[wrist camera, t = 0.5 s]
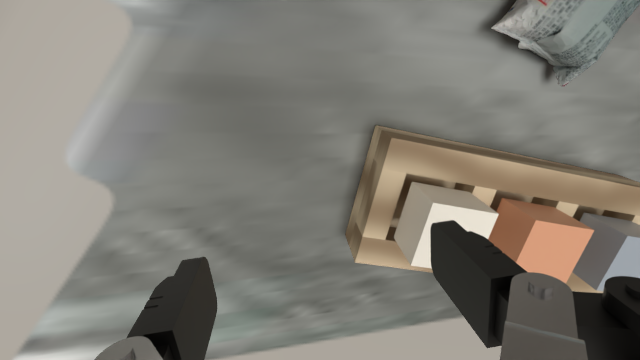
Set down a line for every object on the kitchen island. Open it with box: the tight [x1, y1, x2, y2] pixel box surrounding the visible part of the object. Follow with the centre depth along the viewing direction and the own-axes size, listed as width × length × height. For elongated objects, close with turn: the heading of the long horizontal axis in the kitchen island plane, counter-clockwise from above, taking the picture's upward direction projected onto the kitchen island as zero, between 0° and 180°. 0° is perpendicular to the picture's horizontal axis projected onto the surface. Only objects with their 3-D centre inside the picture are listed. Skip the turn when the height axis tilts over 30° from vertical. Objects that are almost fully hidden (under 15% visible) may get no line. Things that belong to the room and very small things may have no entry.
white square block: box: [394, 182, 499, 268], centre depth 26 cm, size 5×5×4 cm
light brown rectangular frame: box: [345, 125, 640, 293], centre depth 32 cm, size 11×26×5 cm, turn 77°
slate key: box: [572, 213, 640, 291], centre depth 29 cm, size 5×5×4 cm
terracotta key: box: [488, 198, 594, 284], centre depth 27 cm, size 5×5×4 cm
